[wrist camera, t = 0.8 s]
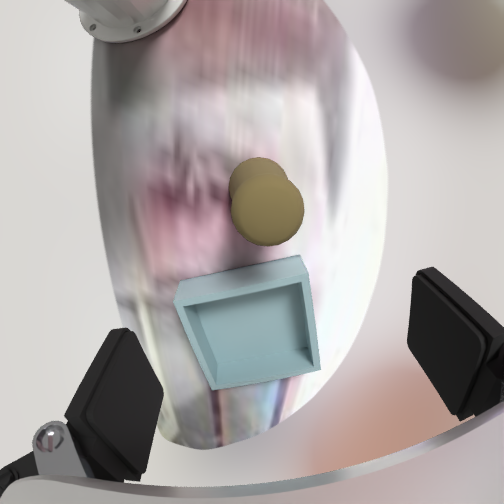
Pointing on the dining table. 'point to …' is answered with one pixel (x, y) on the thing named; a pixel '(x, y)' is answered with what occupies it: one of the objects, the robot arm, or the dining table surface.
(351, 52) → the dining table surface
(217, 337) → the bin
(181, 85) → the dining table surface
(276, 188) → the cork
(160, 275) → the dining table surface
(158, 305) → the dining table surface
